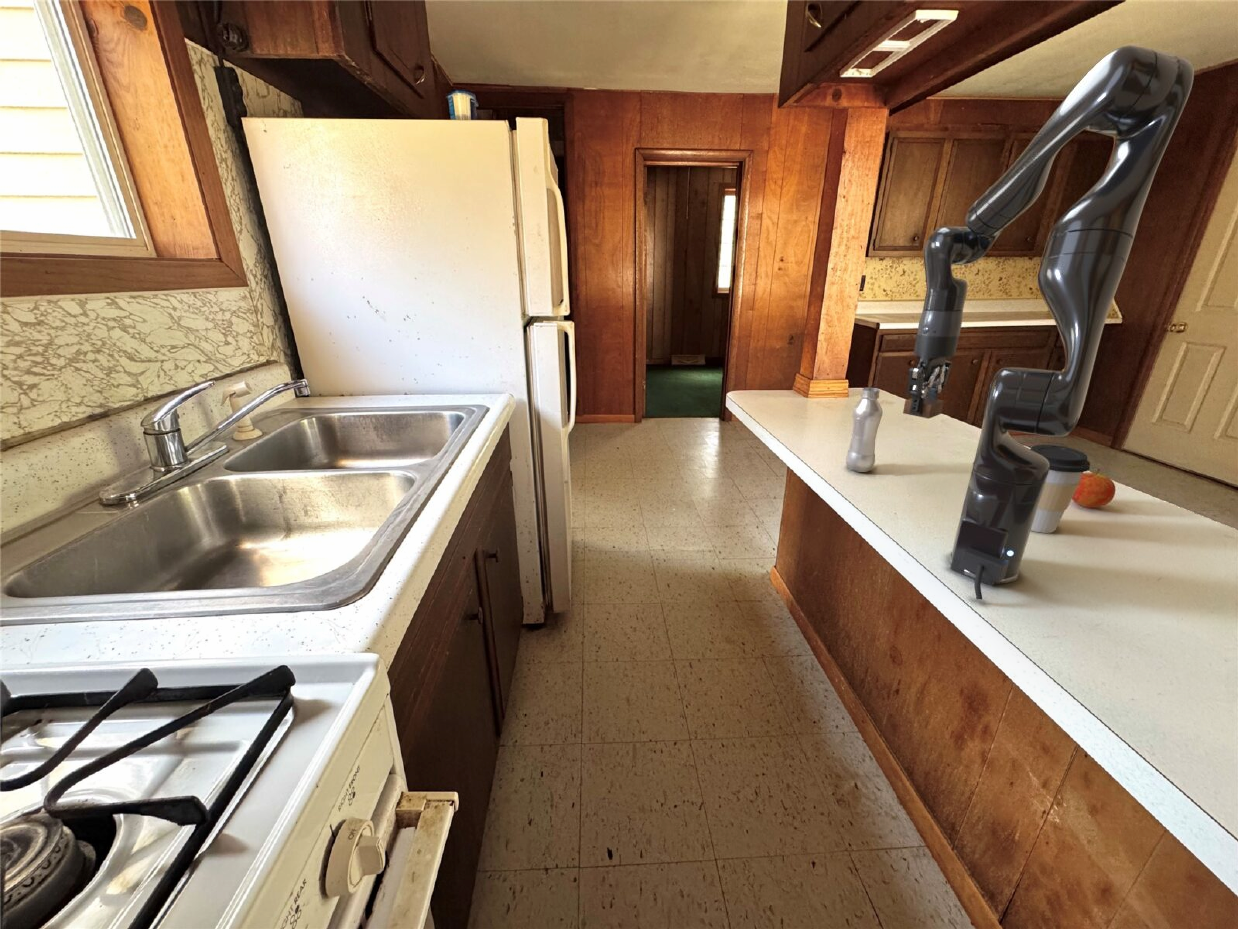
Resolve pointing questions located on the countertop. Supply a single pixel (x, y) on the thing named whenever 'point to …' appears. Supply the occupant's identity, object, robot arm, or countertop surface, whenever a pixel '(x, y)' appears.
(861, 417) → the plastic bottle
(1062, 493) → the coffee cup
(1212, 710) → the countertop surface
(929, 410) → the walnut block
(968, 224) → the robot arm
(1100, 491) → the fruit
